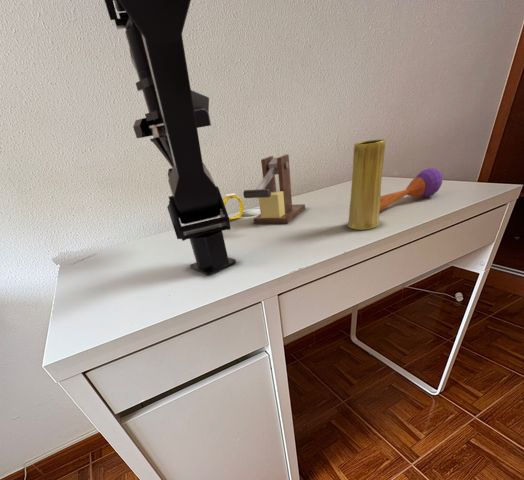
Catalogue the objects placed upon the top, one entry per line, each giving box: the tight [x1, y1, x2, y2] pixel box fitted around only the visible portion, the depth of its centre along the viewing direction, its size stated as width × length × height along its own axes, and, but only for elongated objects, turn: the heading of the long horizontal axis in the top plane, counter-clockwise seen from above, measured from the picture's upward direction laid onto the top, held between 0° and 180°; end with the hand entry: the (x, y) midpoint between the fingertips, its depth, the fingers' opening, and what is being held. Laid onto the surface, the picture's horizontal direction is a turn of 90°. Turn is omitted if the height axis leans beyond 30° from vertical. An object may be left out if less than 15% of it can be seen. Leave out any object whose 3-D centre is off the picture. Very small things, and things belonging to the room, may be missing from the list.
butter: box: [258, 190, 285, 218], centre depth 69 cm, size 3×5×5 cm, turn 63°
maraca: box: [379, 167, 444, 212], centre depth 67 cm, size 6×6×20 cm
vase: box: [347, 138, 386, 231], centre depth 56 cm, size 6×6×14 cm
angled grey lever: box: [243, 157, 278, 199], centre depth 65 cm, size 13×6×2 cm, turn 154°
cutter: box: [253, 154, 306, 225], centre depth 70 cm, size 12×9×13 cm
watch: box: [223, 193, 245, 221], centre depth 77 cm, size 6×3×6 cm, turn 125°
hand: (183, 178), depth 58 cm, fingers closed
